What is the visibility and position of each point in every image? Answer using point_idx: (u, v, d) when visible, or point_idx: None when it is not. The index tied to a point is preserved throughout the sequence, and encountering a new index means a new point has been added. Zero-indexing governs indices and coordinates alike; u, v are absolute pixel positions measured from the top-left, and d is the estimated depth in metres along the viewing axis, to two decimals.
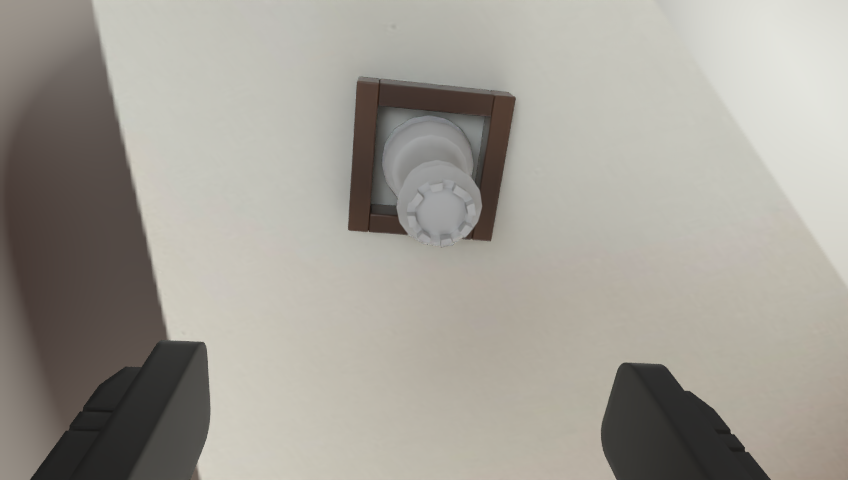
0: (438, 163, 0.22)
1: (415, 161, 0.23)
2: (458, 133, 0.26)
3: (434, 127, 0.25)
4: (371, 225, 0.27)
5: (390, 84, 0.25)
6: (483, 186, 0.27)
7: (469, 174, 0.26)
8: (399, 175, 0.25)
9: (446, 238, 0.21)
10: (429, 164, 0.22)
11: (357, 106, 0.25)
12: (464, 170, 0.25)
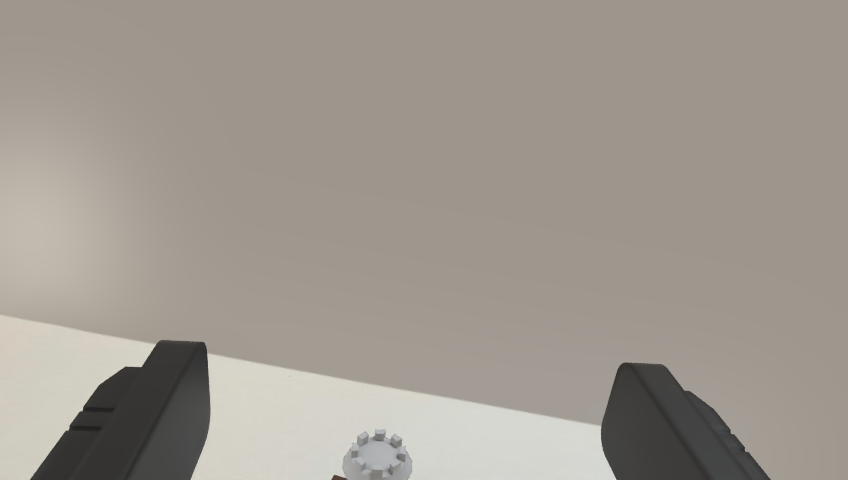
0: None
1: None
2: None
3: None
4: None
5: None
6: None
7: None
8: None
9: (358, 447, 0.25)
10: None
11: None
12: None
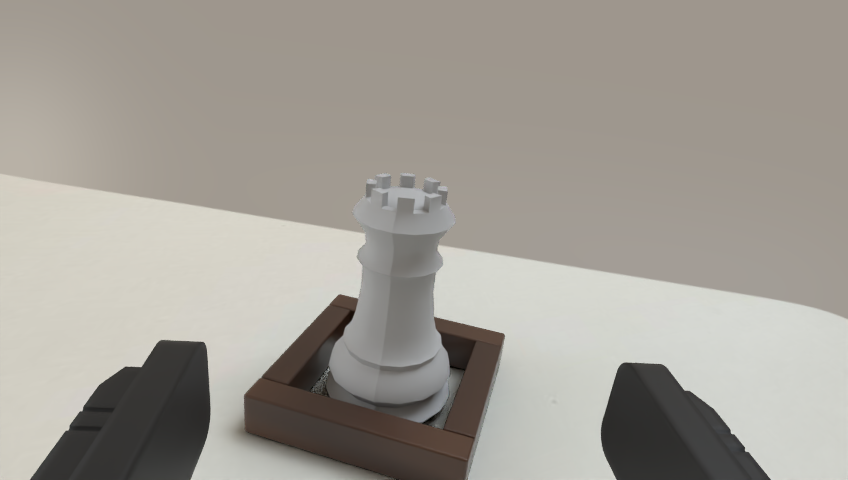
0: (439, 261, 0.18)
1: None
2: (427, 391, 0.18)
3: (444, 365, 0.19)
4: (336, 307, 0.23)
5: (498, 354, 0.21)
6: (339, 402, 0.17)
7: (368, 382, 0.18)
8: None
9: (376, 183, 0.17)
10: (440, 257, 0.18)
11: (477, 328, 0.22)
12: (385, 359, 0.18)
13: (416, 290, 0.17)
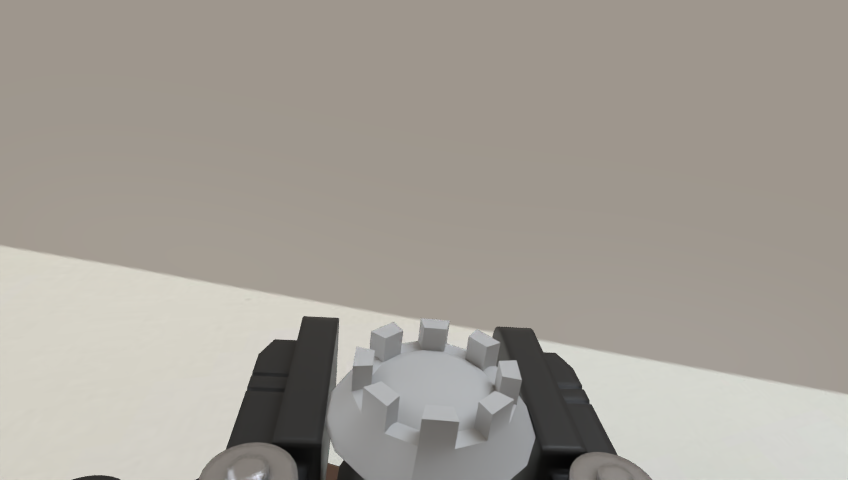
0: None
1: None
2: None
3: None
4: None
5: None
6: None
7: None
8: None
9: (373, 359, 0.08)
10: None
11: None
12: None
13: None
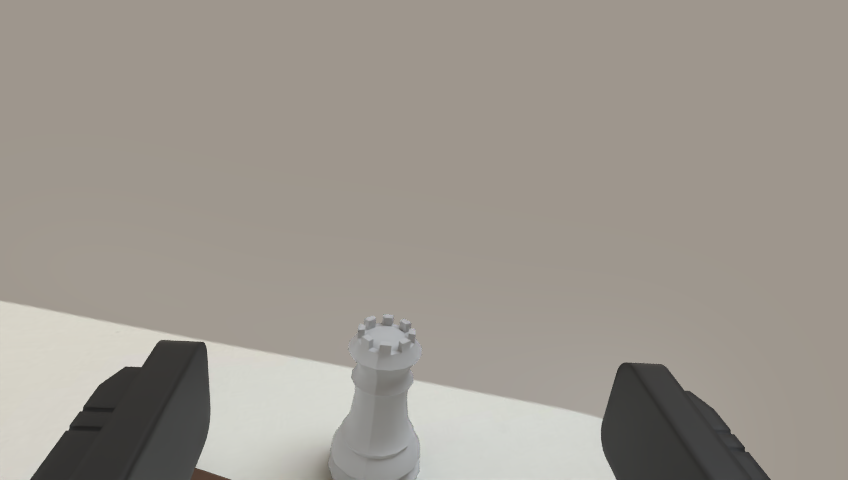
0: (410, 380, 0.25)
1: None
2: (402, 472, 0.25)
3: (414, 450, 0.26)
4: None
5: None
6: None
7: (359, 467, 0.25)
8: None
9: (365, 328, 0.24)
10: (411, 375, 0.25)
11: (220, 477, 0.24)
12: (372, 450, 0.25)
13: (393, 402, 0.24)
